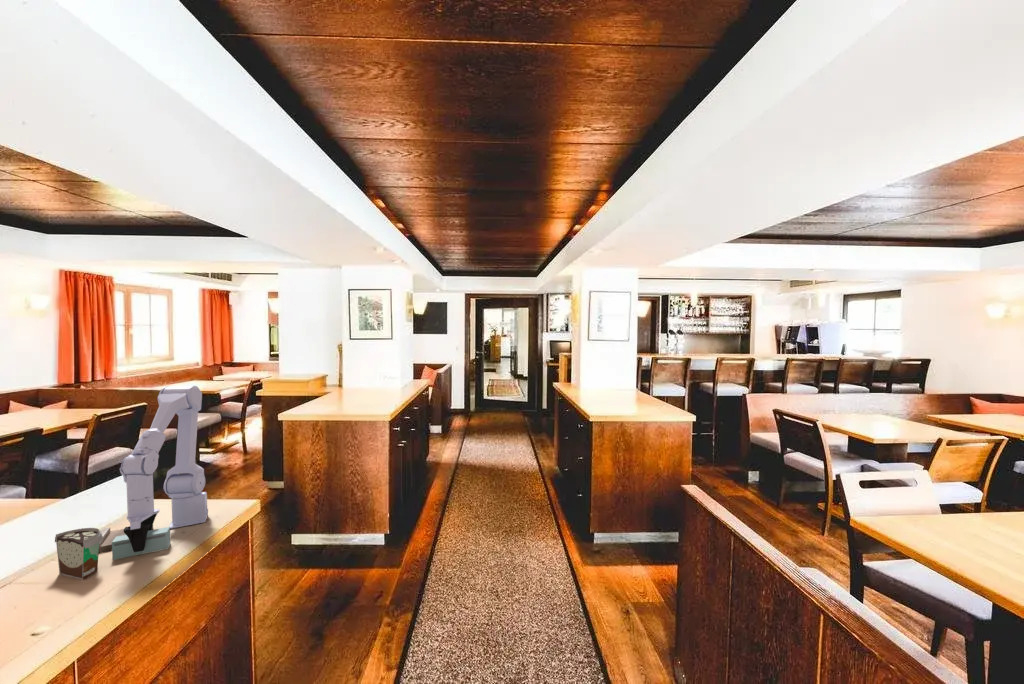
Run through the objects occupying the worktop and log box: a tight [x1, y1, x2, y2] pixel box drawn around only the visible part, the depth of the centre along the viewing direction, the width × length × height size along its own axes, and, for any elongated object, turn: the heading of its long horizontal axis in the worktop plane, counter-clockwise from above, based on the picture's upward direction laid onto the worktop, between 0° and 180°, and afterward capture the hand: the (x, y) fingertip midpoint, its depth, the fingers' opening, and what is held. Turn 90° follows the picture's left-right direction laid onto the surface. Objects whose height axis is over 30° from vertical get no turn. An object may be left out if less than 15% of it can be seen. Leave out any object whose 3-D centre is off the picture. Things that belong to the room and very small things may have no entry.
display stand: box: [99, 525, 154, 553], centre depth 133 cm, size 13×12×3 cm
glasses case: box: [111, 526, 171, 561], centre depth 126 cm, size 12×4×5 cm, turn 119°
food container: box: [54, 527, 103, 580], centre depth 116 cm, size 12×6×10 cm, turn 71°
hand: (142, 545), depth 126 cm, fingers open, 7 cm apart
